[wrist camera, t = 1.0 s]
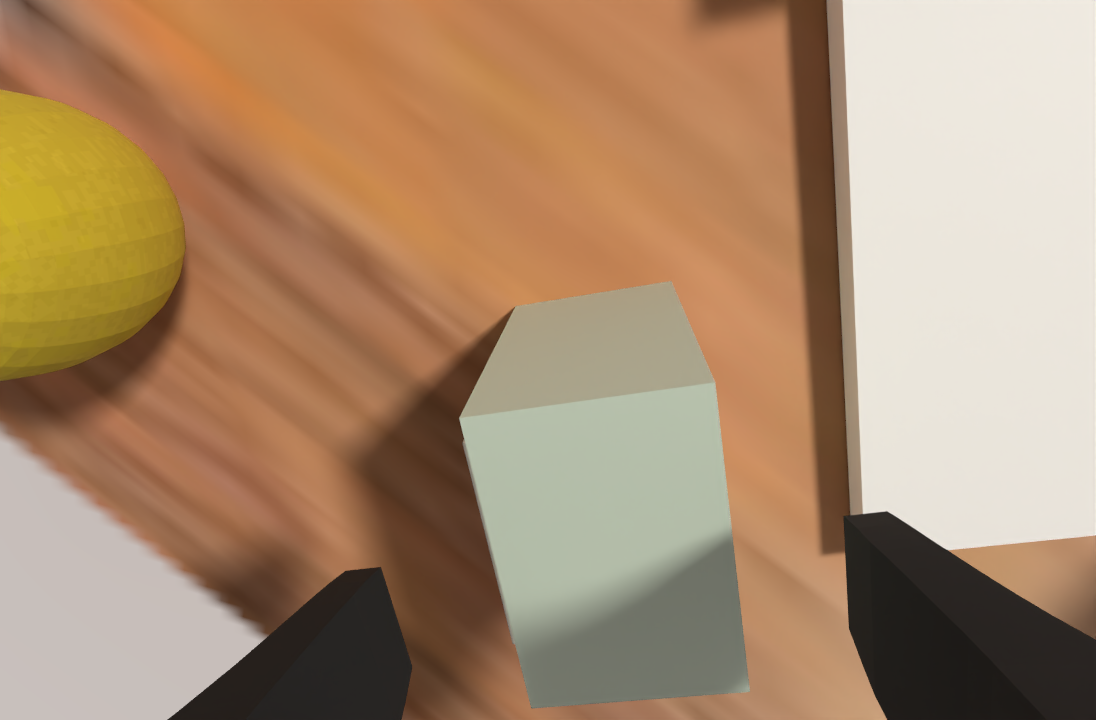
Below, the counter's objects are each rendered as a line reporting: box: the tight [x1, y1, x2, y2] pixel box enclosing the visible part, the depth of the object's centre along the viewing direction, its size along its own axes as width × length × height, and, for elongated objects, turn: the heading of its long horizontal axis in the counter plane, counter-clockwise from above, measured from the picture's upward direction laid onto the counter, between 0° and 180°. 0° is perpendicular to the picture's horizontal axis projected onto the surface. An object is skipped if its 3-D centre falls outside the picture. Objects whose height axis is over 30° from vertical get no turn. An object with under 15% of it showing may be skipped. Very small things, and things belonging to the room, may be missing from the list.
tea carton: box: [459, 281, 750, 708], centre depth 14 cm, size 4×6×7 cm
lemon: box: [0, 90, 186, 381], centre depth 13 cm, size 6×6×8 cm
